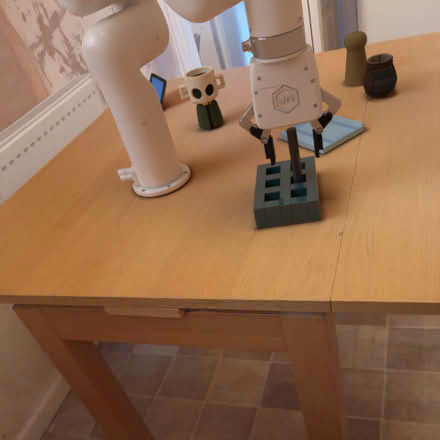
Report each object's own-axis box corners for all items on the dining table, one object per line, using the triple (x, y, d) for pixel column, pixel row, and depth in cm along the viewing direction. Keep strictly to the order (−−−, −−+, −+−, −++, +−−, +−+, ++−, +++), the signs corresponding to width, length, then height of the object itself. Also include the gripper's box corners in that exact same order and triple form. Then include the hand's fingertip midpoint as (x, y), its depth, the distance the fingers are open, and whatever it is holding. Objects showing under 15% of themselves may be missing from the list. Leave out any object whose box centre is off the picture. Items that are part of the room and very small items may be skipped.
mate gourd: (392, 85, 109) (392, 39, 103) (401, 97, 104) (402, 48, 97) (360, 92, 111) (359, 47, 104) (367, 104, 105) (366, 57, 98)
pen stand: (257, 229, 80) (252, 209, 77) (260, 183, 90) (257, 164, 88) (321, 220, 77) (318, 199, 75) (316, 174, 88) (314, 155, 85)
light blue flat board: (367, 129, 96) (367, 123, 96) (323, 154, 93) (322, 148, 92) (321, 116, 106) (321, 110, 105) (280, 138, 102) (279, 133, 102)
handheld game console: (127, 110, 141) (118, 85, 136) (159, 97, 143) (151, 71, 138) (140, 120, 132) (131, 94, 127) (174, 106, 134) (167, 79, 129)
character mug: (191, 137, 115) (176, 83, 106) (190, 126, 120) (175, 73, 112) (235, 124, 114) (222, 69, 106) (231, 114, 120) (219, 60, 111)
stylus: (296, 201, 83) (286, 132, 74) (296, 197, 84) (286, 127, 76) (305, 200, 83) (296, 130, 74) (305, 195, 84) (296, 125, 75)
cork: (373, 75, 116) (372, 27, 109) (364, 86, 113) (363, 36, 106) (349, 76, 119) (347, 29, 112) (340, 86, 116) (337, 38, 109)
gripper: (216, 64, 66) (242, 177, 77) (344, 36, 62) (351, 159, 73) (222, 48, 71) (245, 156, 83) (339, 21, 67) (346, 138, 79)
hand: (295, 157), depth 78 cm, fingers open, 6 cm apart
